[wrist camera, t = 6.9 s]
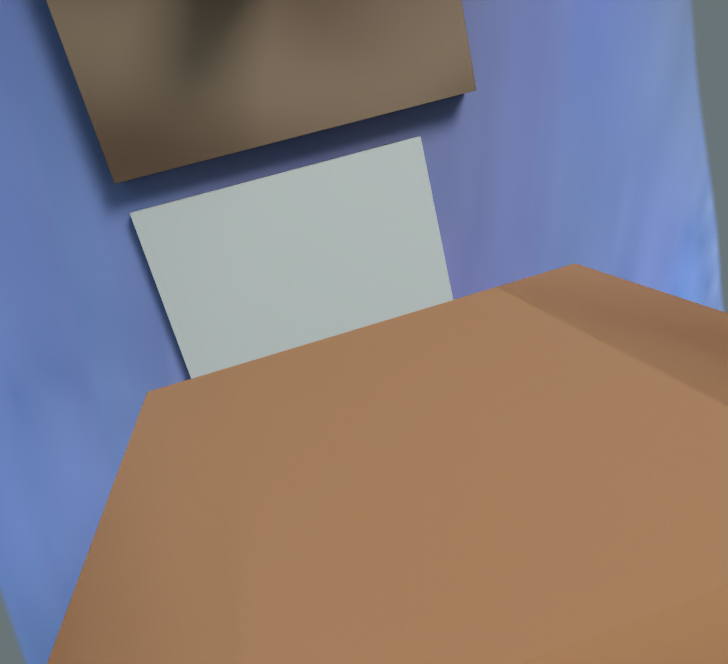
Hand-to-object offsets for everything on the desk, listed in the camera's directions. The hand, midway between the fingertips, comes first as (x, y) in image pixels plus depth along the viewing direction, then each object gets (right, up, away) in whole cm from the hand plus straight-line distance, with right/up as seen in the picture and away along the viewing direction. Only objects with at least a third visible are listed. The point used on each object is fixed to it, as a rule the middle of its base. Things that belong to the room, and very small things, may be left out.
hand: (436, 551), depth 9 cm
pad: (-3, +4, +13) cm, 14 cm away
